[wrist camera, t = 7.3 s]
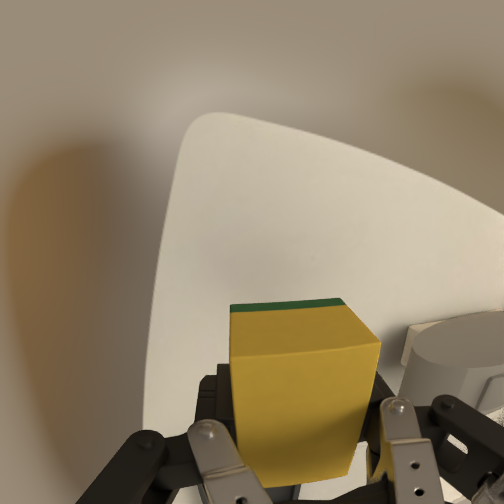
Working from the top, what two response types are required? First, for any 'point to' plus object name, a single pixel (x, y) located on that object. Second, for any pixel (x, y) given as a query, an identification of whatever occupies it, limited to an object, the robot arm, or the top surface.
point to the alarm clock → (456, 361)
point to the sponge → (299, 387)
